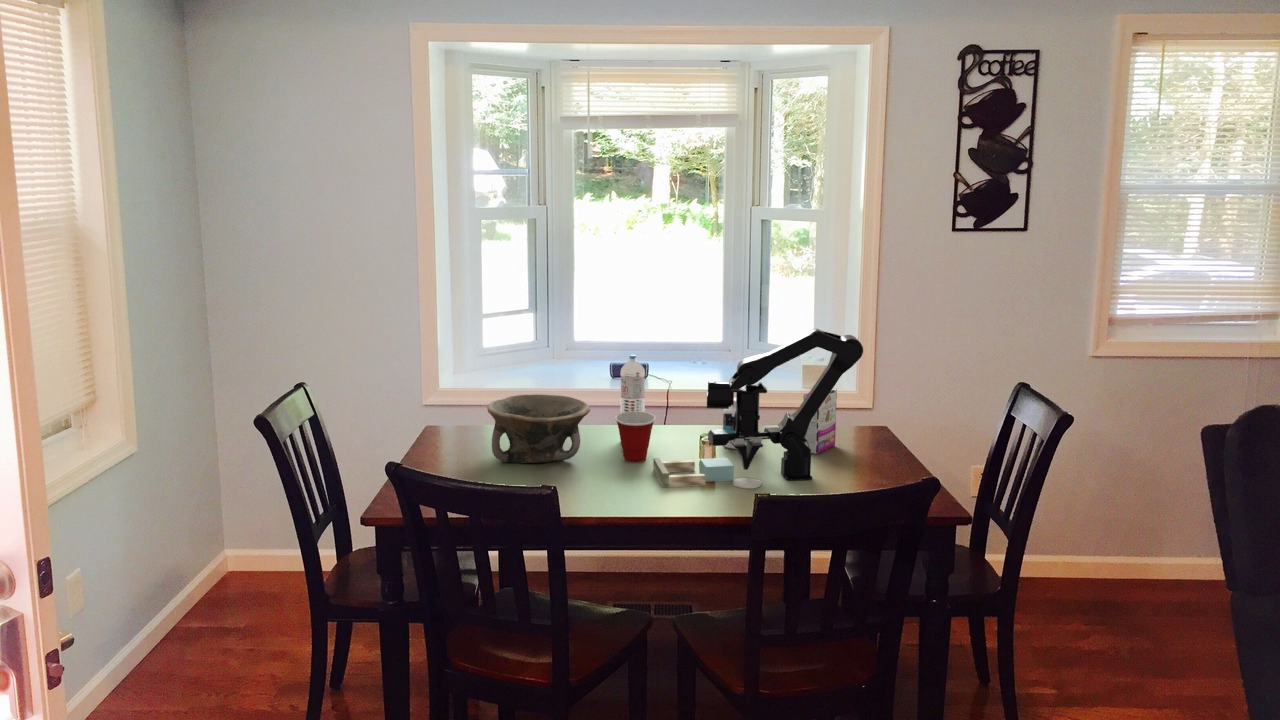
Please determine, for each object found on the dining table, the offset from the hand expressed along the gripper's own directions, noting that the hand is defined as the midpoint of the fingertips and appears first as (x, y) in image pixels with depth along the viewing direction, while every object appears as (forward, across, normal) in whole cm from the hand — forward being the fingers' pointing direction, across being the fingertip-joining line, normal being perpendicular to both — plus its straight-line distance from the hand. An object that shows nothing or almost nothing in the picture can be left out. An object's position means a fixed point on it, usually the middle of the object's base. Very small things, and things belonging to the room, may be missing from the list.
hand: (745, 469), depth 246 cm
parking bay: (+2, +16, 0) cm, 17 cm away
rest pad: (+2, +2, +7) cm, 7 cm away
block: (+2, +8, 0) cm, 8 cm away
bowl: (+2, +51, -22) cm, 55 cm away
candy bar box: (+2, -26, -20) cm, 33 cm away
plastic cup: (+2, +26, -17) cm, 31 cm away
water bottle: (+2, +24, -34) cm, 41 cm away
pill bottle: (+2, -4, -26) cm, 26 cm away
